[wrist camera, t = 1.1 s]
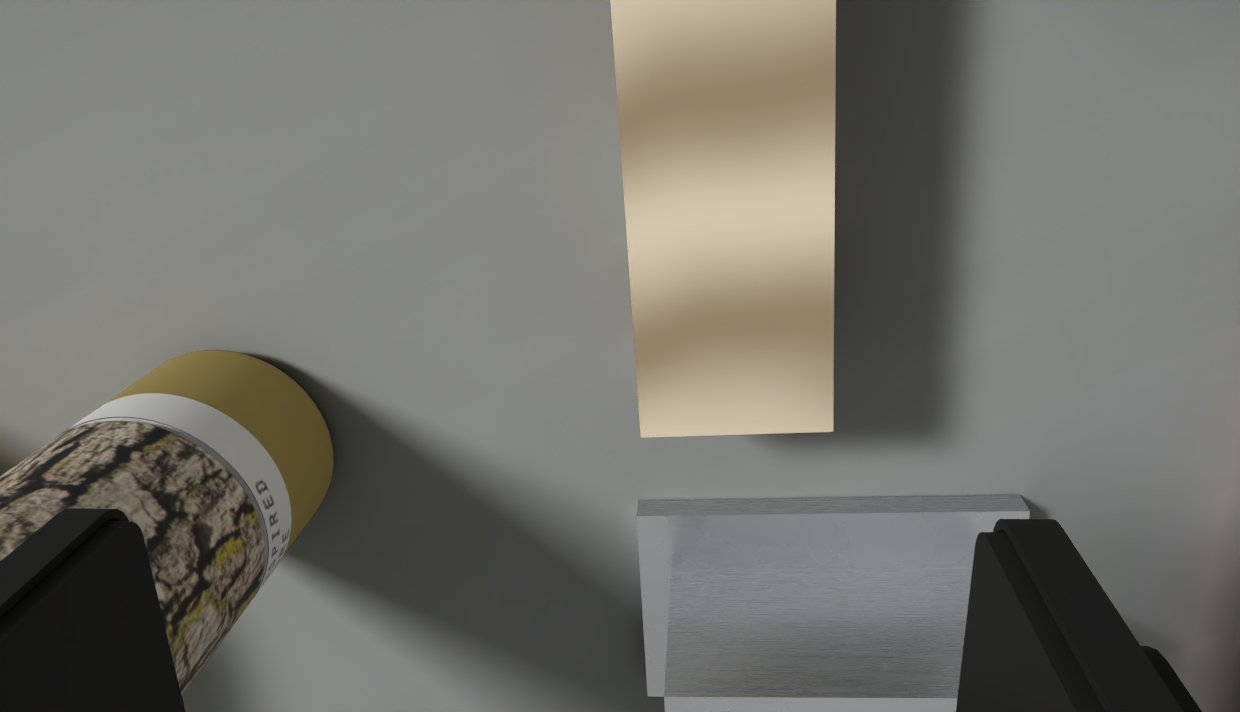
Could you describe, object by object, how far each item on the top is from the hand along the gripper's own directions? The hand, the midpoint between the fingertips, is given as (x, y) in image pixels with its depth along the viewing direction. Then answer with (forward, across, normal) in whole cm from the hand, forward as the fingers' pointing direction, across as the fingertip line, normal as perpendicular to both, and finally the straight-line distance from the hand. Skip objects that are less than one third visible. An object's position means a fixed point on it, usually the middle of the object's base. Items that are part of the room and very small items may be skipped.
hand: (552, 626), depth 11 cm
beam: (+19, -2, -4) cm, 20 cm away
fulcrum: (+19, -6, +12) cm, 23 cm away
